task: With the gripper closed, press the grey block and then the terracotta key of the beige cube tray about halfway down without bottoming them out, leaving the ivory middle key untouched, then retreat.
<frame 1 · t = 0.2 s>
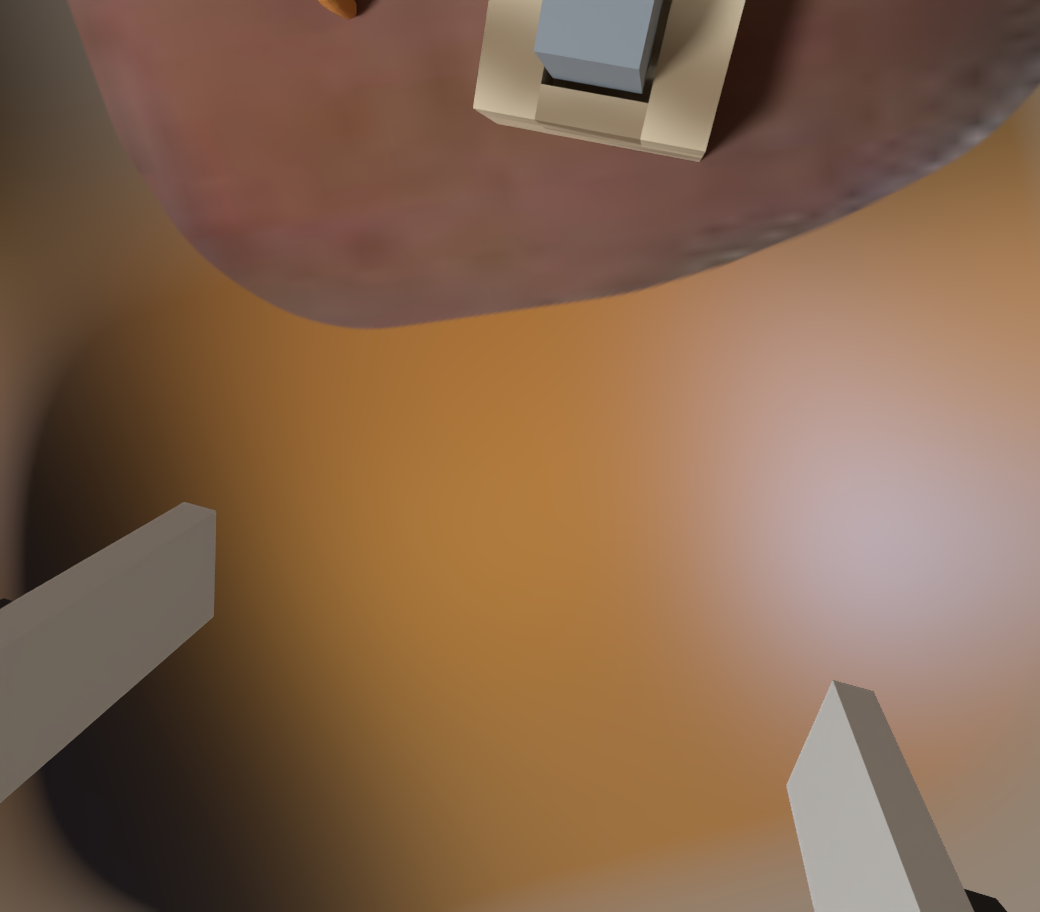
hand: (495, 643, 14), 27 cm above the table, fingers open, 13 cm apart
grey block: (603, 17, 27), point 7 cm above the table, slide at 0.0 cm
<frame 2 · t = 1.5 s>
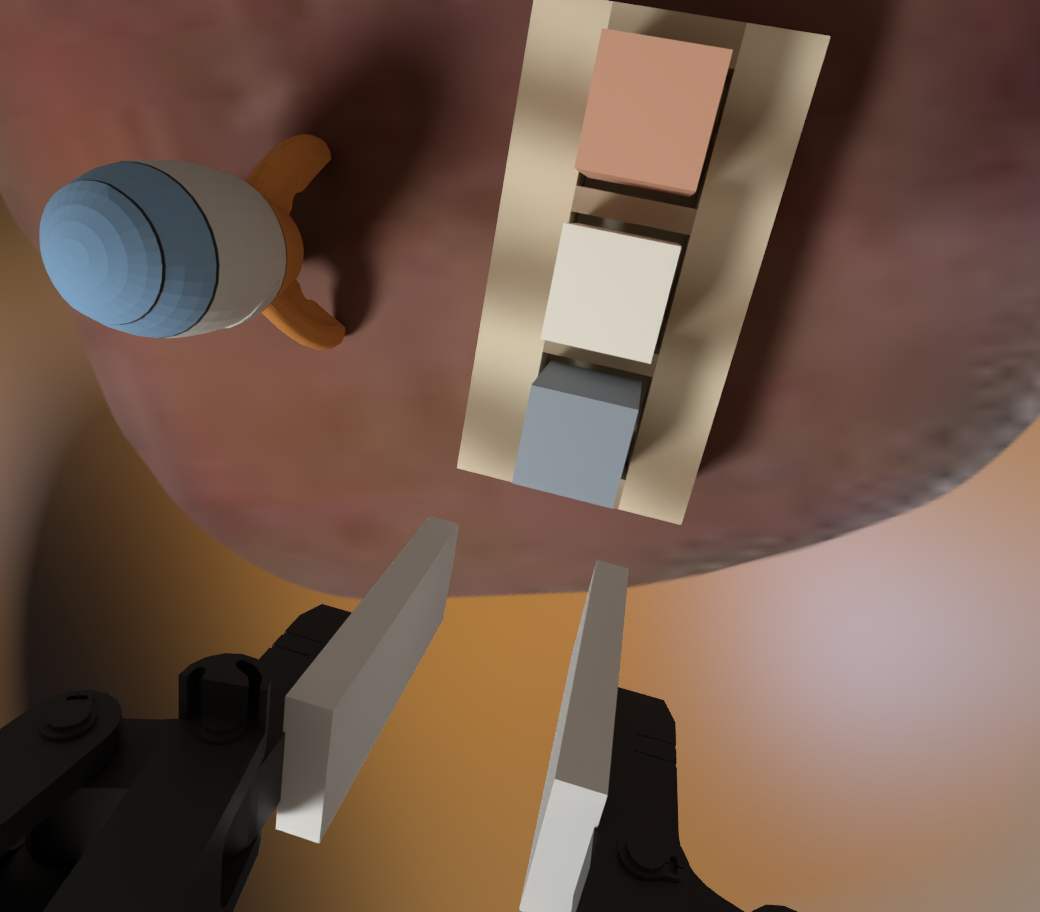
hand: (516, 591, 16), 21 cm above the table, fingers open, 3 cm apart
beige cube tray: (622, 276, 33), on the table
key ivory: (612, 288, 26), point 7 cm above the table, slide at 0.0 cm
grey block: (580, 429, 28), point 7 cm above the table, slide at 0.0 cm
toy rocket: (269, 240, 36), on the table
key terracotta: (651, 122, 24), point 7 cm above the table, slide at 0.0 cm
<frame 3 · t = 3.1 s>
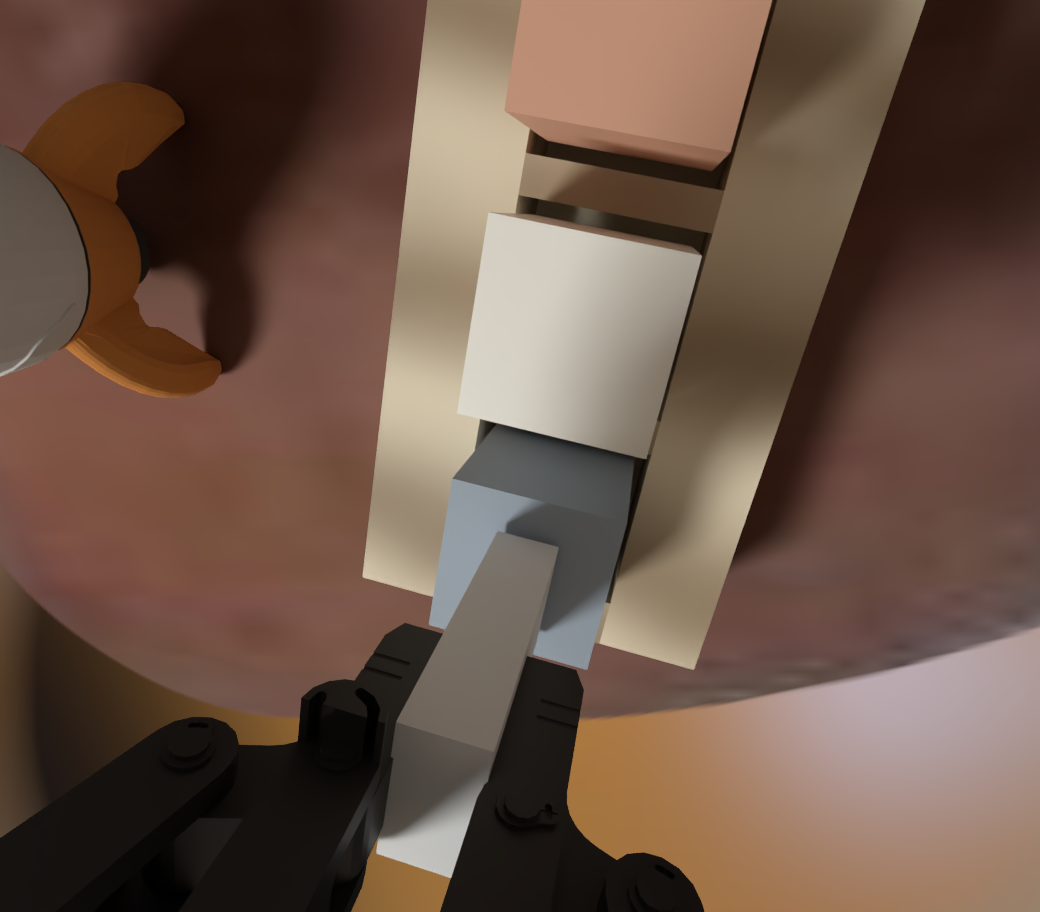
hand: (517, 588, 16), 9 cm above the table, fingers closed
beige cube tray: (606, 293, 22), on the table
key ivory: (583, 322, 16), point 7 cm above the table, slide at 0.0 cm
grey block: (539, 532, 19), point 6 cm above the table, slide at 0.6 cm, touching gripper
toy rocket: (111, 241, 26), on the table
key terracotta: (646, 34, 14), point 7 cm above the table, slide at 0.0 cm
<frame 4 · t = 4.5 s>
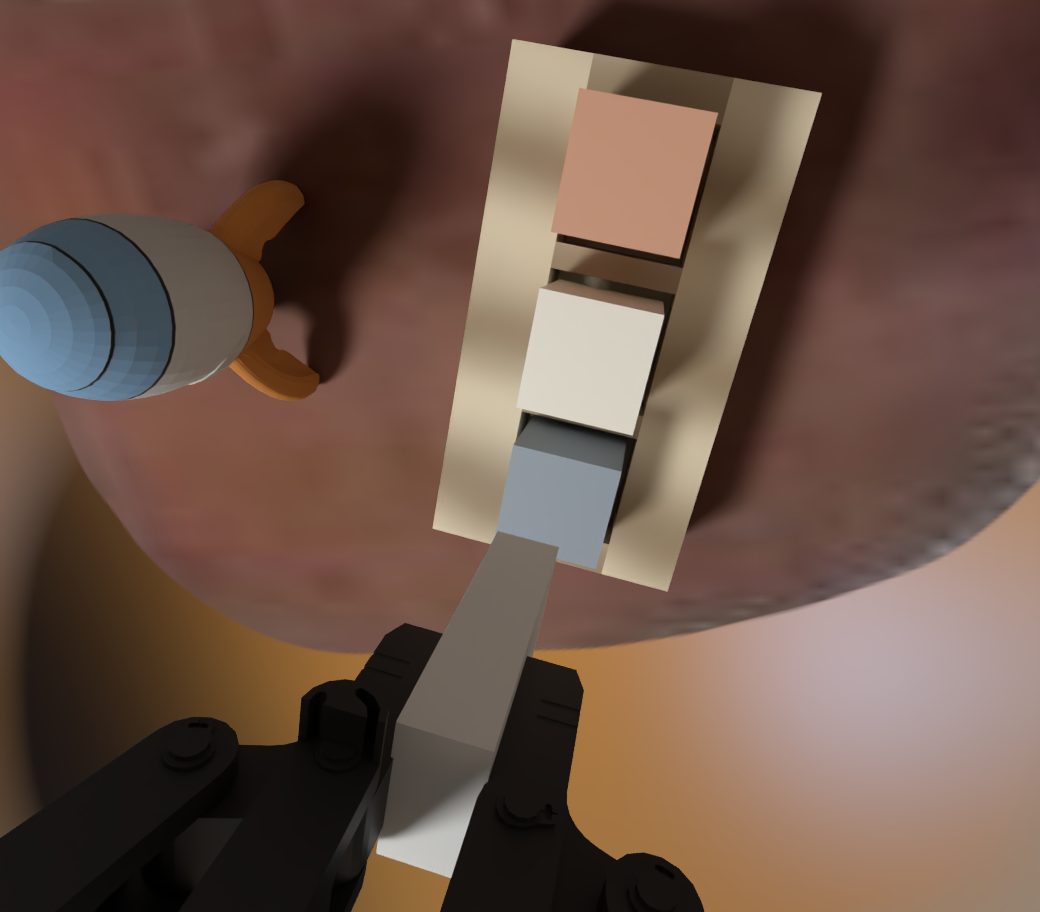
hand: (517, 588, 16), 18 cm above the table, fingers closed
beige cube tray: (606, 328, 31), on the table
key ivory: (593, 351, 25), point 7 cm above the table, slide at 0.0 cm
grey block: (563, 485, 28), point 6 cm above the table, slide at 1.2 cm
toy rocket: (240, 285, 35), on the table
key terracotta: (633, 181, 23), point 7 cm above the table, slide at 0.0 cm
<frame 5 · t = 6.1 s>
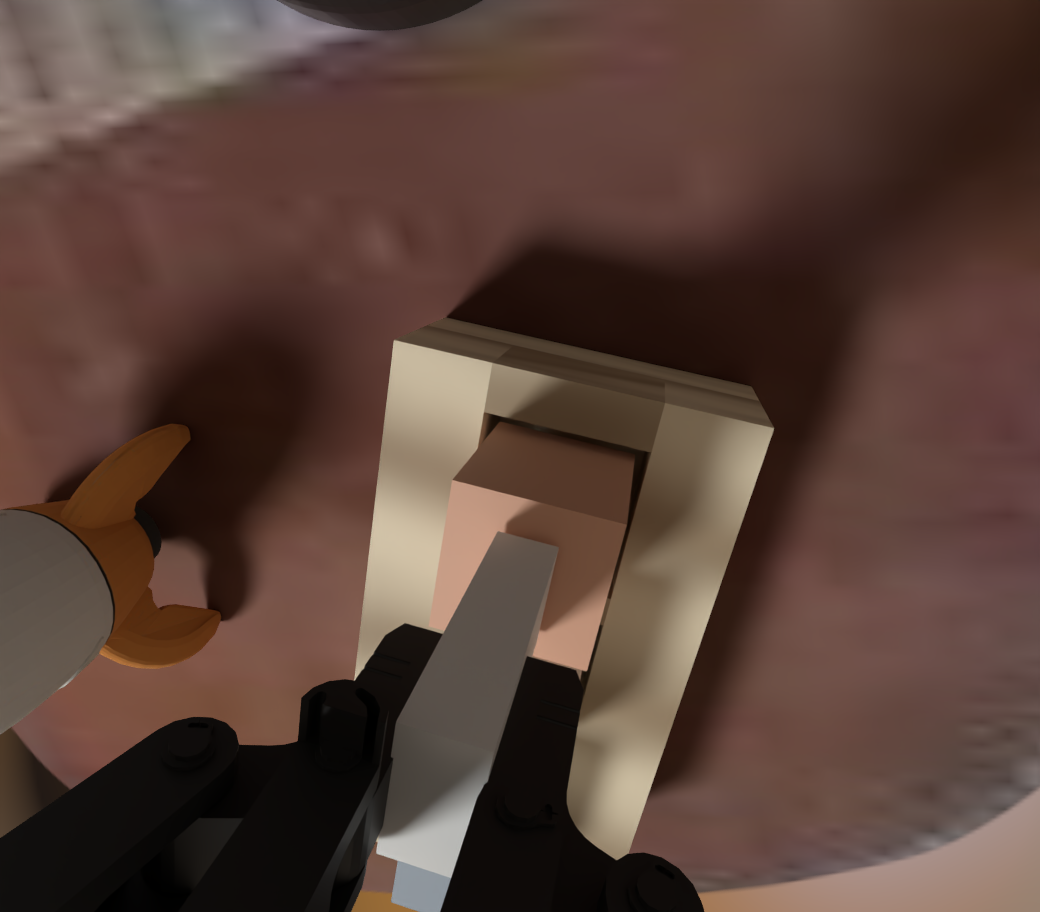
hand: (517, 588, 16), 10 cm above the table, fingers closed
beige cube tray: (539, 590, 27), on the table
key ivory: (500, 706, 21), point 7 cm above the table, slide at 0.0 cm
grey block: (479, 815, 24), point 6 cm above the table, slide at 1.2 cm
toy rocket: (127, 514, 30), on the table
key terracotta: (539, 534, 19), point 7 cm above the table, slide at 0.2 cm, touching gripper
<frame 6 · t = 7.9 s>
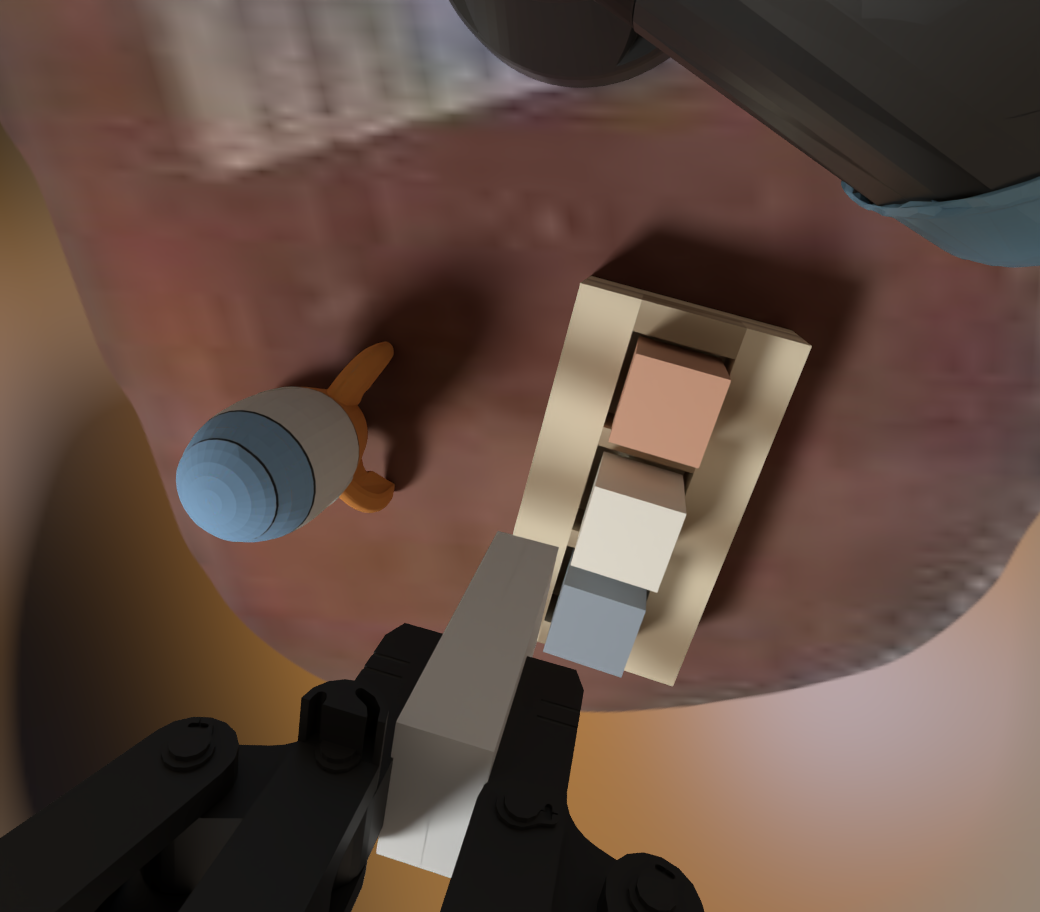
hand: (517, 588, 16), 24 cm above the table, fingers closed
beige cube tray: (634, 469, 39), on the table
key ivory: (629, 518, 33), point 7 cm above the table, slide at 0.0 cm
grey block: (597, 605, 36), point 6 cm above the table, slide at 1.2 cm
toy rocket: (333, 409, 42), on the table
key terracotta: (667, 398, 32), point 6 cm above the table, slide at 1.2 cm
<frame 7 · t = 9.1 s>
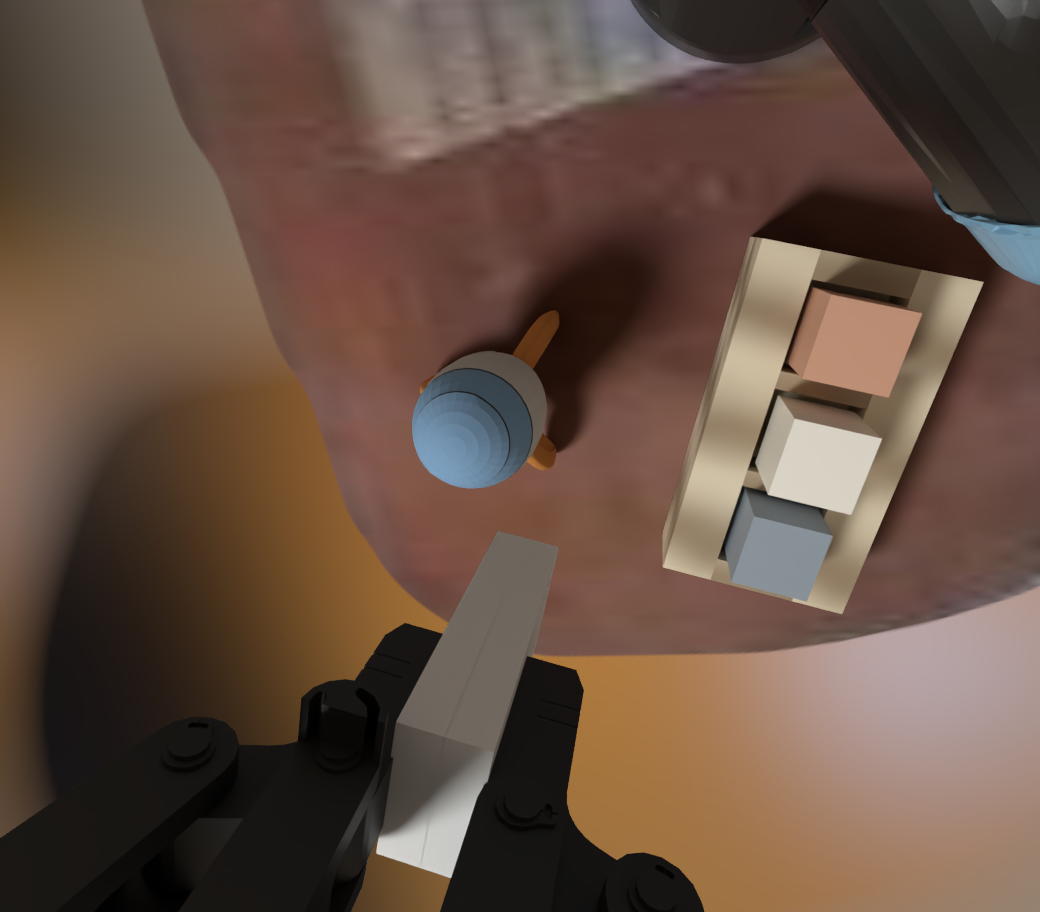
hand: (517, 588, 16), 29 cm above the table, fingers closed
beige cube tray: (789, 417, 42), on the table
key ivory: (812, 451, 36), point 7 cm above the table, slide at 0.0 cm
grey block: (773, 539, 39), point 6 cm above the table, slide at 1.2 cm
toy rocket: (497, 378, 45), on the table
key terracotta: (847, 338, 35), point 6 cm above the table, slide at 1.2 cm
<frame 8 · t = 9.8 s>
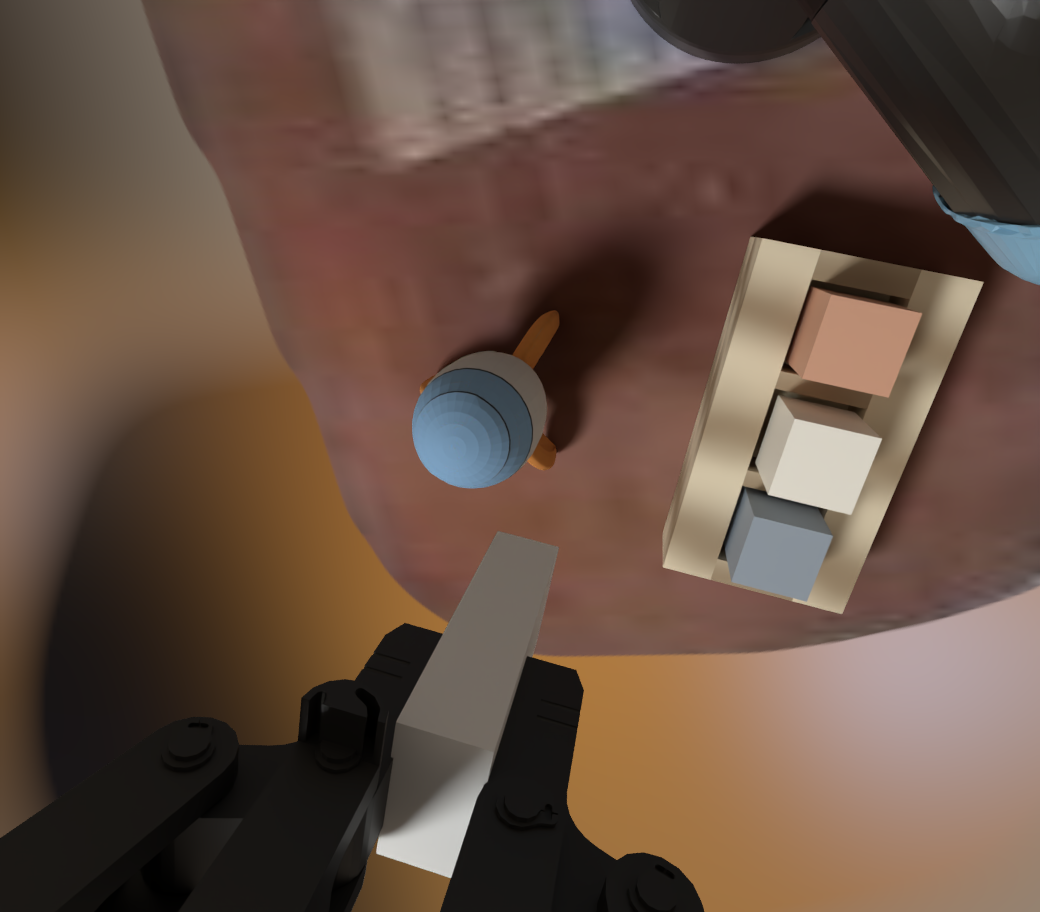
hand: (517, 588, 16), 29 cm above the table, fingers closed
beige cube tray: (789, 417, 42), on the table
key ivory: (812, 451, 36), point 7 cm above the table, slide at 0.0 cm
grey block: (773, 539, 39), point 6 cm above the table, slide at 1.2 cm
toy rocket: (497, 378, 45), on the table
key terracotta: (847, 338, 35), point 6 cm above the table, slide at 1.2 cm
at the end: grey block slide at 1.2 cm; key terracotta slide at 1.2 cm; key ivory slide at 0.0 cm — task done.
